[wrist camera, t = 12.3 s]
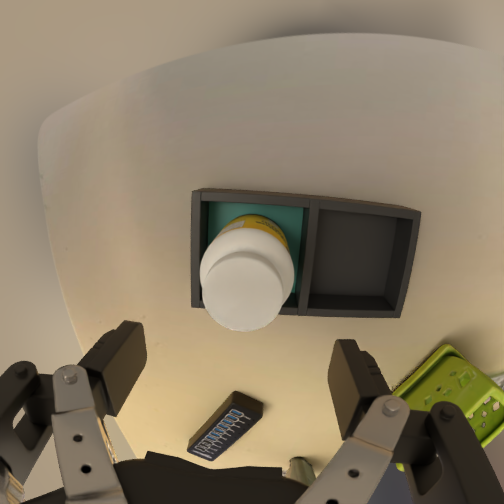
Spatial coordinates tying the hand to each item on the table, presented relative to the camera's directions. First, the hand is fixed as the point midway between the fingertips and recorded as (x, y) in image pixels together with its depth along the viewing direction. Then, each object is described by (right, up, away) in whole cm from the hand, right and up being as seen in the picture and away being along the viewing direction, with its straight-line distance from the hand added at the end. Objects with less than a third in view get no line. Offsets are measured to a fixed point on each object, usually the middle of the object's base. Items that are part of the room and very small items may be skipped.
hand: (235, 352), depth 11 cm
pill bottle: (+1, +5, +16) cm, 17 cm away
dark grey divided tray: (+6, +4, +17) cm, 18 cm away
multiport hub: (-3, -20, +24) cm, 32 cm away
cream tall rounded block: (+9, -31, +27) cm, 41 cm away
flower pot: (+26, -14, +21) cm, 37 cm away
